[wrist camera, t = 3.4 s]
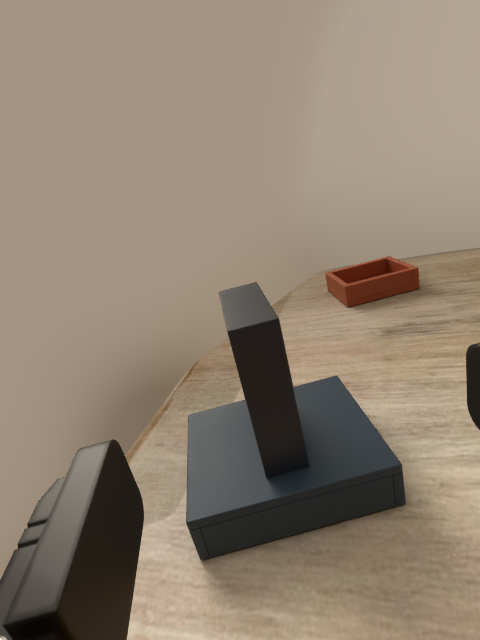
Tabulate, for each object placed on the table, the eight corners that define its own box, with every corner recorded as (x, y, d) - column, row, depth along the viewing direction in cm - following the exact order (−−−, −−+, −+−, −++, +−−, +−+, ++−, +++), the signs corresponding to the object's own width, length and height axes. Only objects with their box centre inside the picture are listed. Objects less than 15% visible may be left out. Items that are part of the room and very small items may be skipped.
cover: (200, 561, 18) (127, 370, 15) (198, 444, 26) (150, 302, 23) (406, 504, 19) (386, 303, 15) (342, 406, 27) (318, 259, 23)
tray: (347, 307, 42) (344, 286, 41) (327, 291, 48) (325, 272, 47) (419, 288, 42) (418, 267, 41) (391, 274, 48) (389, 256, 48)
